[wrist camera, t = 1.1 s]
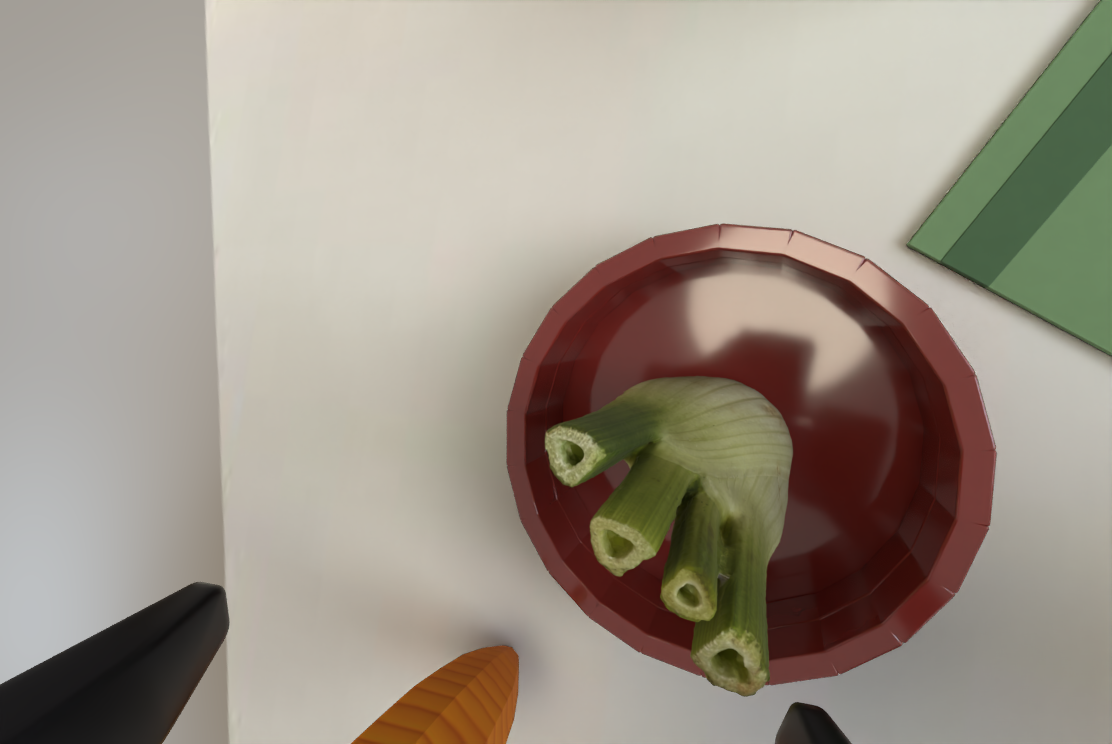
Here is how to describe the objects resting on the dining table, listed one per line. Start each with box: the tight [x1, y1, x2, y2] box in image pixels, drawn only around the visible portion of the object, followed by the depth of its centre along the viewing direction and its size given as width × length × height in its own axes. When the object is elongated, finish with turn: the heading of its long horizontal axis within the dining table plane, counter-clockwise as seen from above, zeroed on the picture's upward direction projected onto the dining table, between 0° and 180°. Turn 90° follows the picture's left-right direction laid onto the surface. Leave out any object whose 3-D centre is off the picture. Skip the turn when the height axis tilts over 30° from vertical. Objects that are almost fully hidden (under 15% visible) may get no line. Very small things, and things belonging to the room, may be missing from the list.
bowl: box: [507, 224, 997, 685], centre depth 19 cm, size 15×15×4 cm
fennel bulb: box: [545, 376, 793, 696], centre depth 15 cm, size 6×5×12 cm
